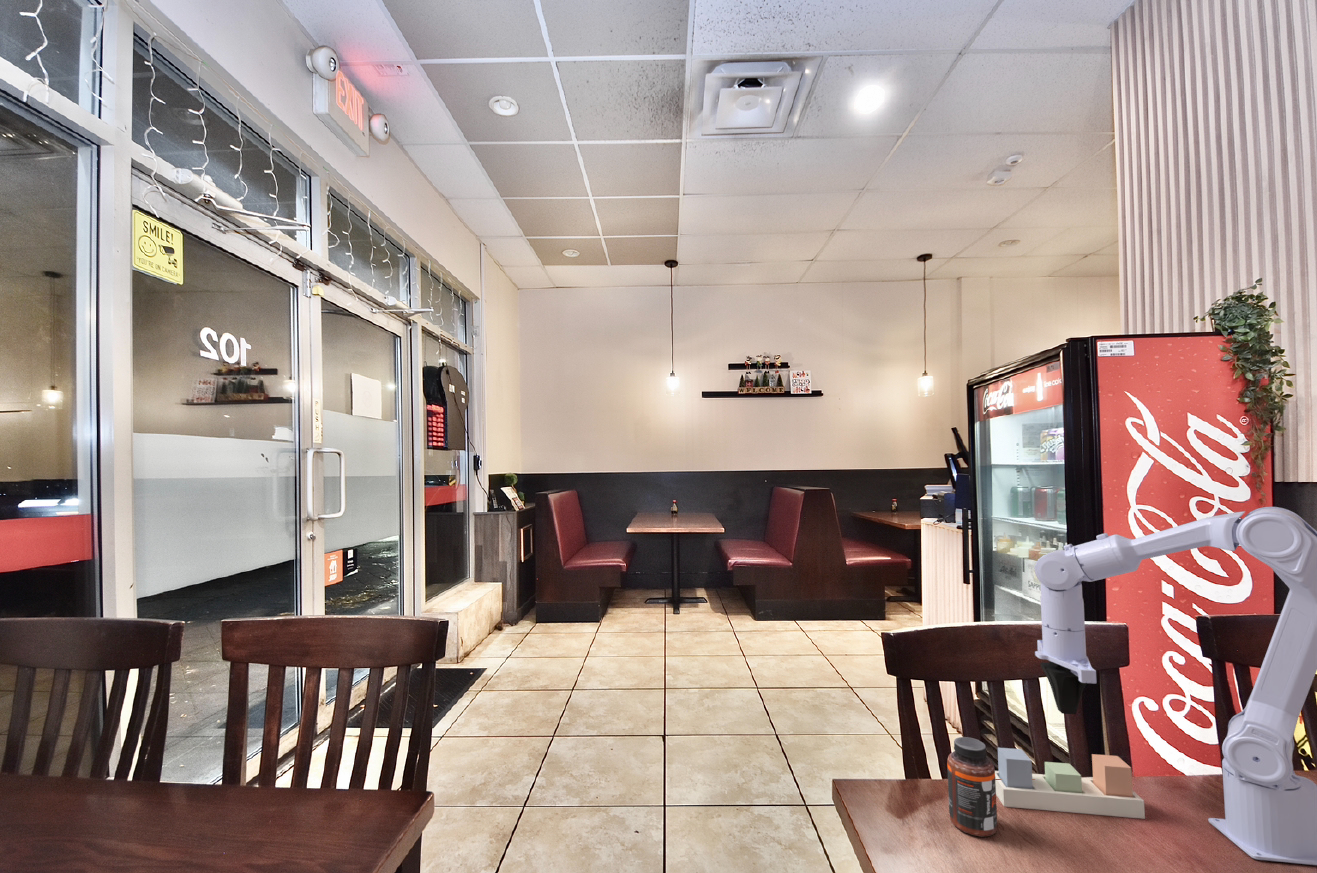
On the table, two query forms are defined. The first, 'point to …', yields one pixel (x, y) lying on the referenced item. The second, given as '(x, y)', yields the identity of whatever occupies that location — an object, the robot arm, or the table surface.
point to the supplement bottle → (972, 788)
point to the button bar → (1069, 799)
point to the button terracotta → (1112, 775)
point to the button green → (1063, 777)
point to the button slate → (1015, 768)
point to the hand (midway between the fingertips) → (1067, 712)
